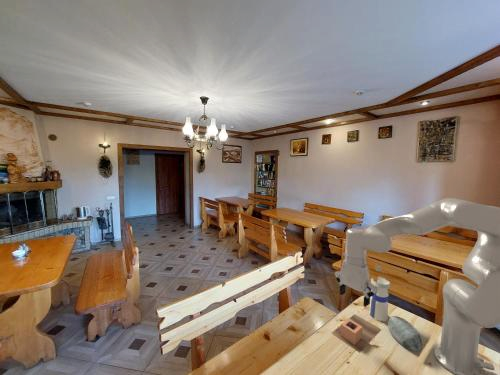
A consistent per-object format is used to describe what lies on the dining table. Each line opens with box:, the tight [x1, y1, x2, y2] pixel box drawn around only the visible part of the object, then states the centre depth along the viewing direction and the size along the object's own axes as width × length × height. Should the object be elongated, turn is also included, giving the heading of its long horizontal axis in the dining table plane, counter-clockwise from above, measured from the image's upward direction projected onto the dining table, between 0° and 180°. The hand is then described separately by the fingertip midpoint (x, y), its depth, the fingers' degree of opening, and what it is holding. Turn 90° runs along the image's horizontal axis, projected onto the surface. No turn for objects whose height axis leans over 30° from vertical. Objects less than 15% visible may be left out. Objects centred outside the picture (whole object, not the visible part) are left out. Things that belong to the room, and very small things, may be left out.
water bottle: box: [368, 265, 392, 322], centre depth 101 cm, size 8×9×25 cm
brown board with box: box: [331, 314, 382, 354], centre depth 91 cm, size 20×12×8 cm, turn 127°
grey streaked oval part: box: [387, 315, 423, 352], centre depth 88 cm, size 14×10×10 cm
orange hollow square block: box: [340, 317, 362, 345], centre depth 88 cm, size 6×6×5 cm
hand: (354, 299), depth 87 cm, fingers open, 9 cm apart
